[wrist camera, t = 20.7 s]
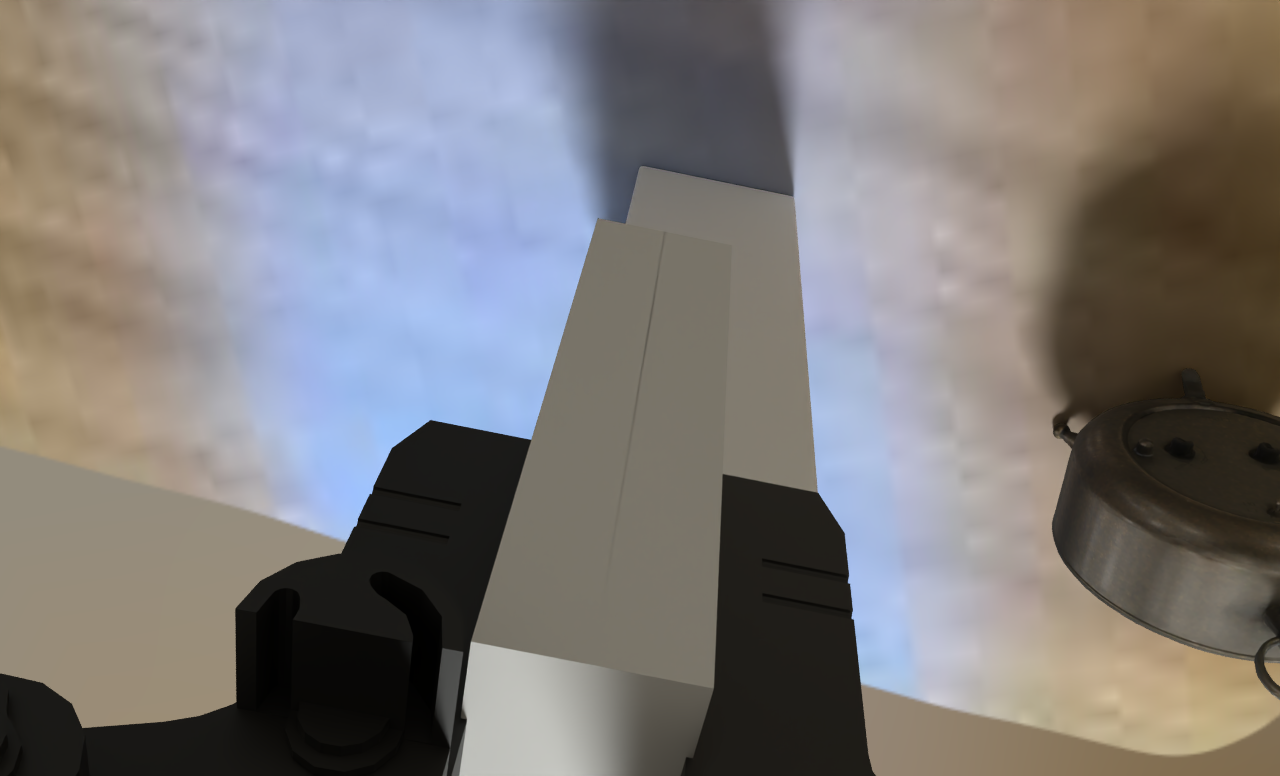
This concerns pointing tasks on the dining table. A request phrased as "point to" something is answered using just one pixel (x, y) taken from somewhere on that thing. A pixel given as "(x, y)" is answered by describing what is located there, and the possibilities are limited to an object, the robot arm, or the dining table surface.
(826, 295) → the dining table surface
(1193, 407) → the alarm clock
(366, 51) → the dining table surface
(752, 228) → the milk
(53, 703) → the robot arm
